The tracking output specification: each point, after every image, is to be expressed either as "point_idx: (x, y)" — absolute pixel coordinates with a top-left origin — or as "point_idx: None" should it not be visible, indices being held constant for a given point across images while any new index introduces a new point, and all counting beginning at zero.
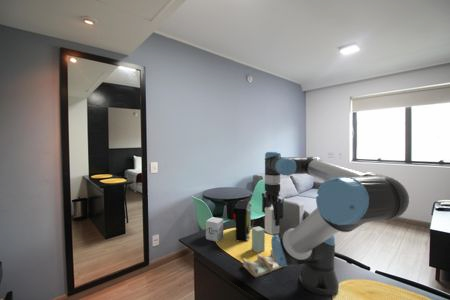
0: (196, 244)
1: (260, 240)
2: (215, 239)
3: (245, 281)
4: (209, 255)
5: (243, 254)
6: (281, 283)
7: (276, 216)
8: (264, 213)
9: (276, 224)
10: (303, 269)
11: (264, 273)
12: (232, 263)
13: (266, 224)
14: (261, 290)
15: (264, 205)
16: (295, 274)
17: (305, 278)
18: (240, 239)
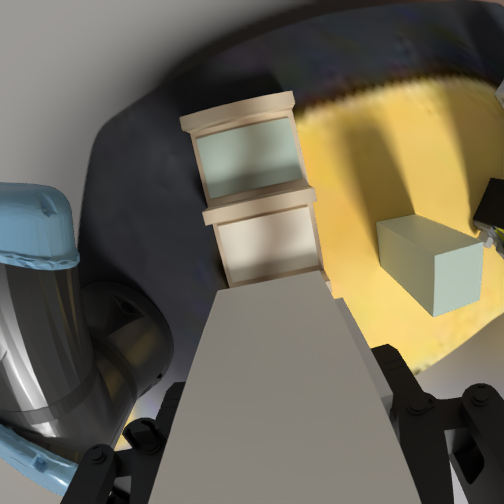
0: (478, 16)
1: (402, 258)
2: (502, 88)
3: (180, 76)
4: (402, 11)
5: (382, 146)
6: (133, 213)
7: (136, 472)
8: (432, 396)
9: (176, 393)
10: (103, 315)
11: (199, 170)
12: (322, 64)
13: (303, 313)
14: (118, 121)
15: (502, 496)
16: (171, 297)
17: (89, 296)
18: (487, 197)
